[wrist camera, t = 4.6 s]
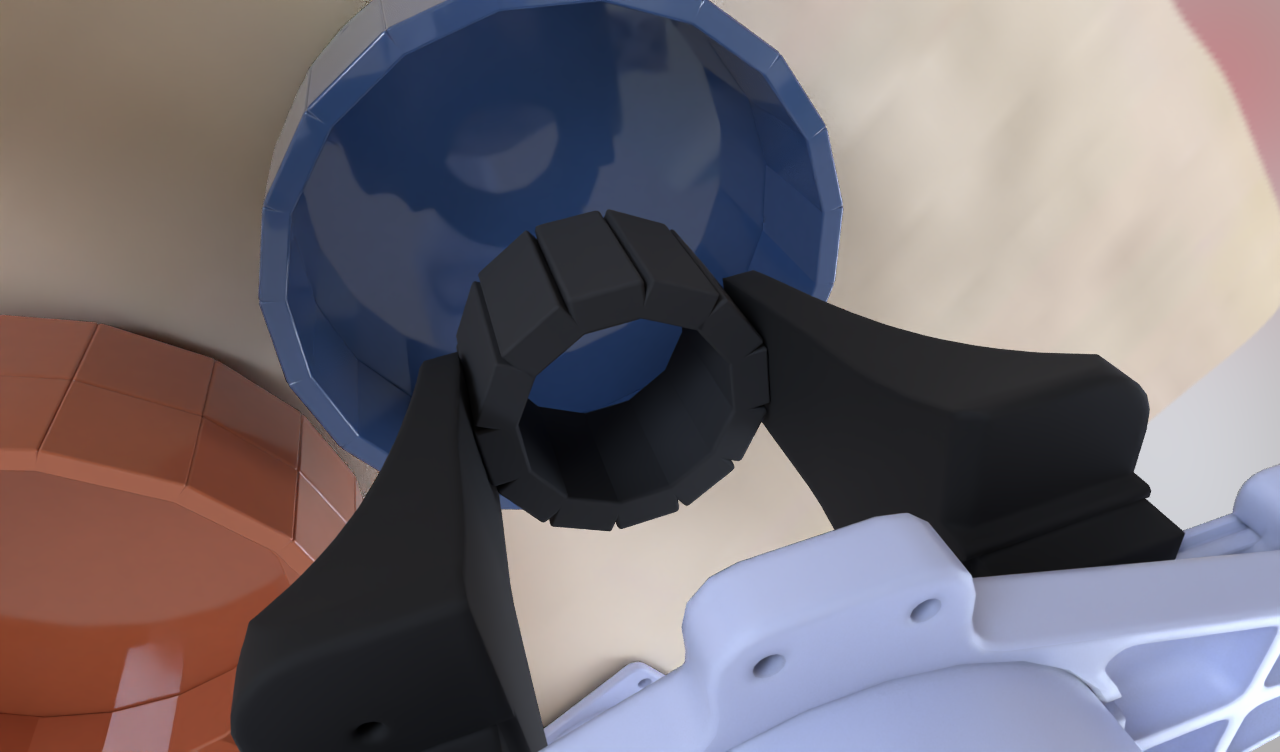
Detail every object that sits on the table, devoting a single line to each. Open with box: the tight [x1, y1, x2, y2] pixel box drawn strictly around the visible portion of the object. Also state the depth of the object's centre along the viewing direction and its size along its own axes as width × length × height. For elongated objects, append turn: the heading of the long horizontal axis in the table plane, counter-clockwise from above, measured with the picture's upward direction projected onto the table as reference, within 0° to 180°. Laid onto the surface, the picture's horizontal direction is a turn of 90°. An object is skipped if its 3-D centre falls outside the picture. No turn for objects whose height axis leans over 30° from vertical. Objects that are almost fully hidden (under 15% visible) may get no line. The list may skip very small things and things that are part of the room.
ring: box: [456, 209, 770, 531], centre depth 15 cm, size 5×5×3 cm
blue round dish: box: [258, 0, 843, 510], centre depth 18 cm, size 12×12×4 cm
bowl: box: [0, 314, 363, 752], centre depth 19 cm, size 15×15×5 cm
